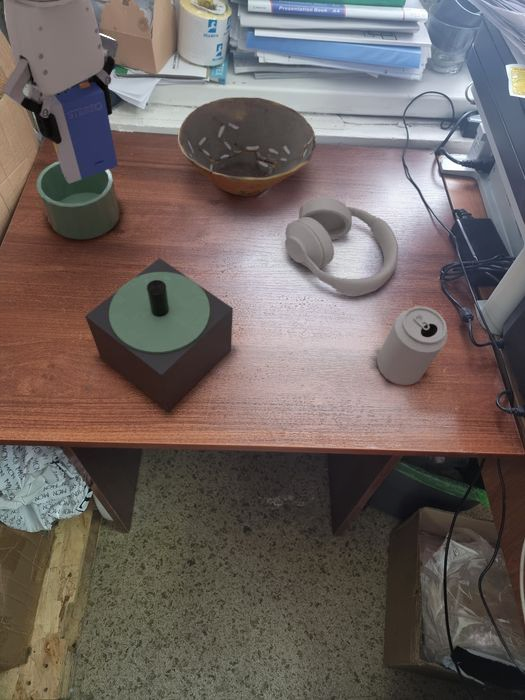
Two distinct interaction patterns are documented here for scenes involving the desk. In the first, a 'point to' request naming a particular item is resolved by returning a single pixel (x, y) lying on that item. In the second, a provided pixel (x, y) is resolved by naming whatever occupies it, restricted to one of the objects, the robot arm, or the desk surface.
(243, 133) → the bowl
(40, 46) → the robot arm
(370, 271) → the desk surface
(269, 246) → the desk surface
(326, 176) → the desk surface
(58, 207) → the pot
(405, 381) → the can
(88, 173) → the walkman
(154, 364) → the stand
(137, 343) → the lid
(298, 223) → the headphones
